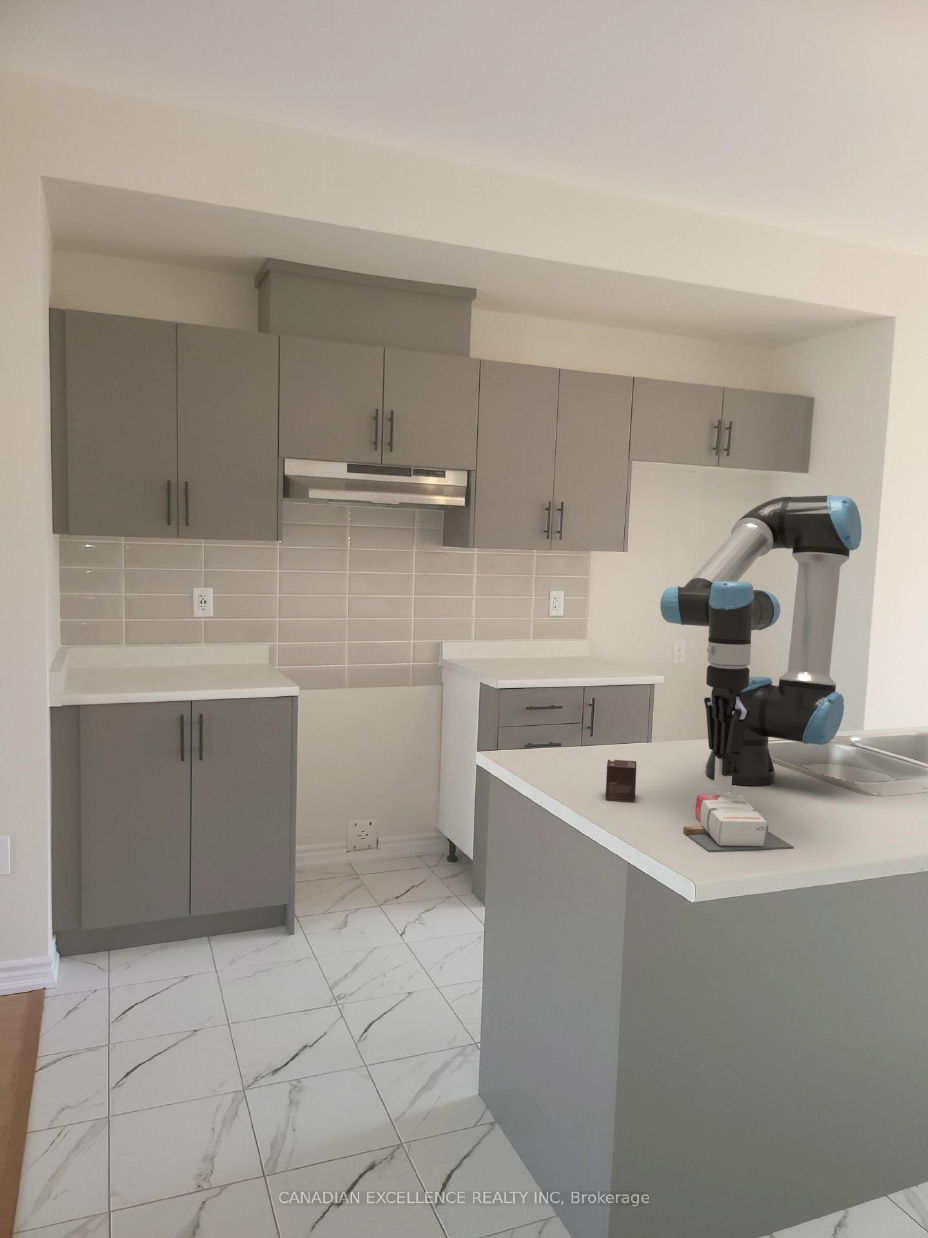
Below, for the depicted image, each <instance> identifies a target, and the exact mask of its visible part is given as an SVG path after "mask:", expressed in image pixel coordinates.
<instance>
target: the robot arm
mask: <svg viewBox="0 0 928 1238" xmlns="http://www.w3.org/2000/svg"><path fill="white" fill-rule="evenodd" d="M858 508H859V507H858V505H857V504H856V502H855V501H854V499H852V498H851V497H849V496H845V495H844V496H843V495H831V494H828V495H812V496H811V495H809V496H803V495H802V496H780V497H776V498H773V499H769V500H768V501H765V502H763V503H761V504H759V505H757V506H755V507H753V508H752V509H750V510H749V511H748V512H746V513H745V514H744V515H743V516H741V518H739V519H738V520H737V521H736V523H734V525H733V526H732V528H731V530H730V531H731V532H730V536H729V537H728V538H727V540H725V542H723V544H722V545H721V546H720V547H719V548H718V549H717V550H716V551H715V552H714V553H713V554H712V555H711V557H710V558H709V559H708V560H707V561H706V562H705V563H704V564H703V565H702V566H701V567H700V569H698V571H697V572H696V573H695V574H694V575H693V576H692V578H691V579H690V580H689V581H688V582H687V583H686V584H685V585H684V586H679V585H678V586H677V585H676V586H671V587H667V588H666V589H665V590H664V591H663V592H662V595H661V598H660V606H659V607H660V612H661V616H662V618H663V620H664V621H665V622H667V623H670V624H677V625H681V626H695V627H696V626H697V627H708V639H707V640H708V642H707V643H708V644H707V646H708V647H706V652H707V662H708V664H710V665H708V666H707V667H706V680H705V682H706V685H707V686H709V687H710V688H712V690H711V694H710V696H708V697H705V696H704V698H703V703H704V707H705V713H706V725H707V726H706V727H707V728H706V729H707V739H708V740H707V741H708V750H710V751H711V752H710V754H709V757H708V759H707V761H706V765H705V775H706V777H708V778H710V779H712V780H713V783H714V784H713V791H714V792H715V793H717V794H720V793H721V794H722V793H732V785H738V786H766V785H770V784H773V783H774V782H775V775H776V772H775V771H776V770H775V767H774V765H773V760H772V757H771V752H770V749H769V738H775V739H779V740H784V741H785V740H786V741H791V742H797V743H803V744H804V745H817V746H818V745H819V746H820V745H821V746H822V745H828V744H829V743H830V742H831V741H832V740H833V739H834V738H835V737H836V735H837V733H838V731H839V729H840V728H841V723H842V721H843V717H844V711H845V704H844V703H845V702H844V701H845V700H844V696H843V695H842V693H840V692H838V691H836V689H837V683H836V682H835V681H834V680H833V678H831V676H830V672H831V663H832V654H833V653H832V652H833V645H834V644H833V643H834V642H833V641H834V635H835V634H834V633H835V623H836V614H837V604H838V593H839V583H840V576H841V575H840V574H841V567H842V565H844V564H845V563H846V562H847V561H848V560H849V559H850V551H851V552H852V551H853V552H854V551H855V550H858V548H859V547H860V544H861V540H862V521H861V515H860V511H859V509H858ZM775 549H789V550H791V549H792V553H791V555H792V557H793V559H794V560H795V561H796V562H797V563H798V566H797V575H796V585H795V594H794V606H793V612H792V613H793V616H792V626H791V633H790V634H791V635H790V644H789V653H788V662H787V663H788V664H787V671H786V672H785V673H783V674H782V675H781V676H780V677H779V679H778V681H779V682H778V685H775V684H774V685H773V681H772V678H770V677H765V676H750V669H749V667H747V666H749V665H750V664H751V650H752V649H751V647H752V631H763V630H766V629H767V628H769V627H772V626H773V625H775V624H776V622H777V621H778V619H779V617H780V615H781V604H780V602H779V600H778V598H777V597H776V596H775V595H774V594H773V593H771V592H770V591H767V590H763V589H754V586H753V584H752V583H751V582H748V581H740V579H741V578H742V577H743V575H745V573H746V572H747V571H748V570H749V568H750V567H751V566H752V565H753V564H754V563H755V562H756V560H757V559H758V558H759V557H763V556H765V555H767V554H768V553H769V552H770V551H771V550H775Z"/></svg>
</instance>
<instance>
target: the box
mask: <svg viewBox="0 0 928 1238" xmlns="http://www.w3.org/2000/svg"><path fill="white" fill-rule="evenodd" d="M636 783H637V761H636V760H623V759H622V760H621V759H607V763H606V781H605V800H607V801H612V802H613V801H618V802H629V803H635V802H636V789H637V788H636V785H637V784H636Z"/></svg>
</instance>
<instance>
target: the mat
mask: <svg viewBox="0 0 928 1238" xmlns="http://www.w3.org/2000/svg"><path fill="white" fill-rule="evenodd" d="M687 837H688V838H689V839H690V840H692V841H693V842H695V843H696V844H697V845H699V846H700V847H701V848H703V850H705V851H707V852H708V853H716V852H719V853H720V852H736V851H737V852H740V851H743V852H744V851H758V850H759V851H760V850H761V851H762V850H765V851H766V850H787V849H794V848H795V846H793V845H792V844H790V843H789V842H787V841H786V840H783V839H782V838H780V837H778V836H777V835H775V834H774V833H772V832H770V831H768V832H766V838H765V844H764V846H720V845H718V844H717V842H716V841H715V840H714V839H713V838H712V836H711V835H710V834H704V835H688V836H687Z"/></svg>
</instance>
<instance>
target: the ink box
mask: <svg viewBox="0 0 928 1238" xmlns="http://www.w3.org/2000/svg"><path fill="white" fill-rule="evenodd" d="M694 813H695V818H696V820H697V821H698V822H699V824H700V826H703V827H704V828H705V829H706V830H707V832H708V833H709V834H710V835H711V836H712V838H713V839H714V840H715V841H716V842H717V844H718V845H720V846H764V844H765V838H766V831H767V826H768V821H767V820H766V819H765V818H764V817H763V816H762V815H761V814H760V813H759V812H758V811H757V810H756V809H755V808H754V807H753V806H752V805H751V804H750V803H749V802H748V801H747V800H746V799H745V798H744V797H743V796H742V795H741V794H739V795H737V794H733V795H731V794H727V795H725V794H722V795H721V794H698V795H697V797H696V802H695V812H694Z"/></svg>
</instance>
